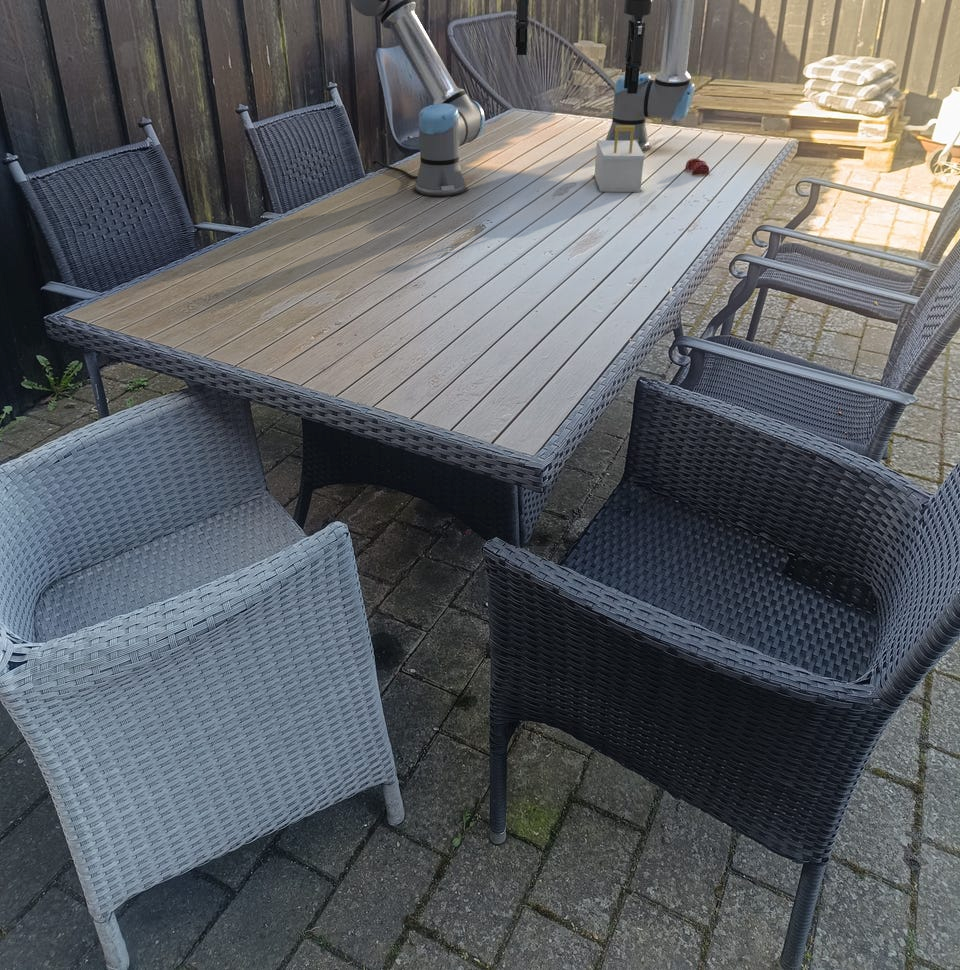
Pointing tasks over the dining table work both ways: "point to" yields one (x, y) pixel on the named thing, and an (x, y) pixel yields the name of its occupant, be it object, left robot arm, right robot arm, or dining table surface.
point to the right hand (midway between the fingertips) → (630, 90)
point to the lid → (620, 146)
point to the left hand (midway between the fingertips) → (520, 51)
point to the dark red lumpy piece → (697, 166)
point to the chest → (618, 174)
